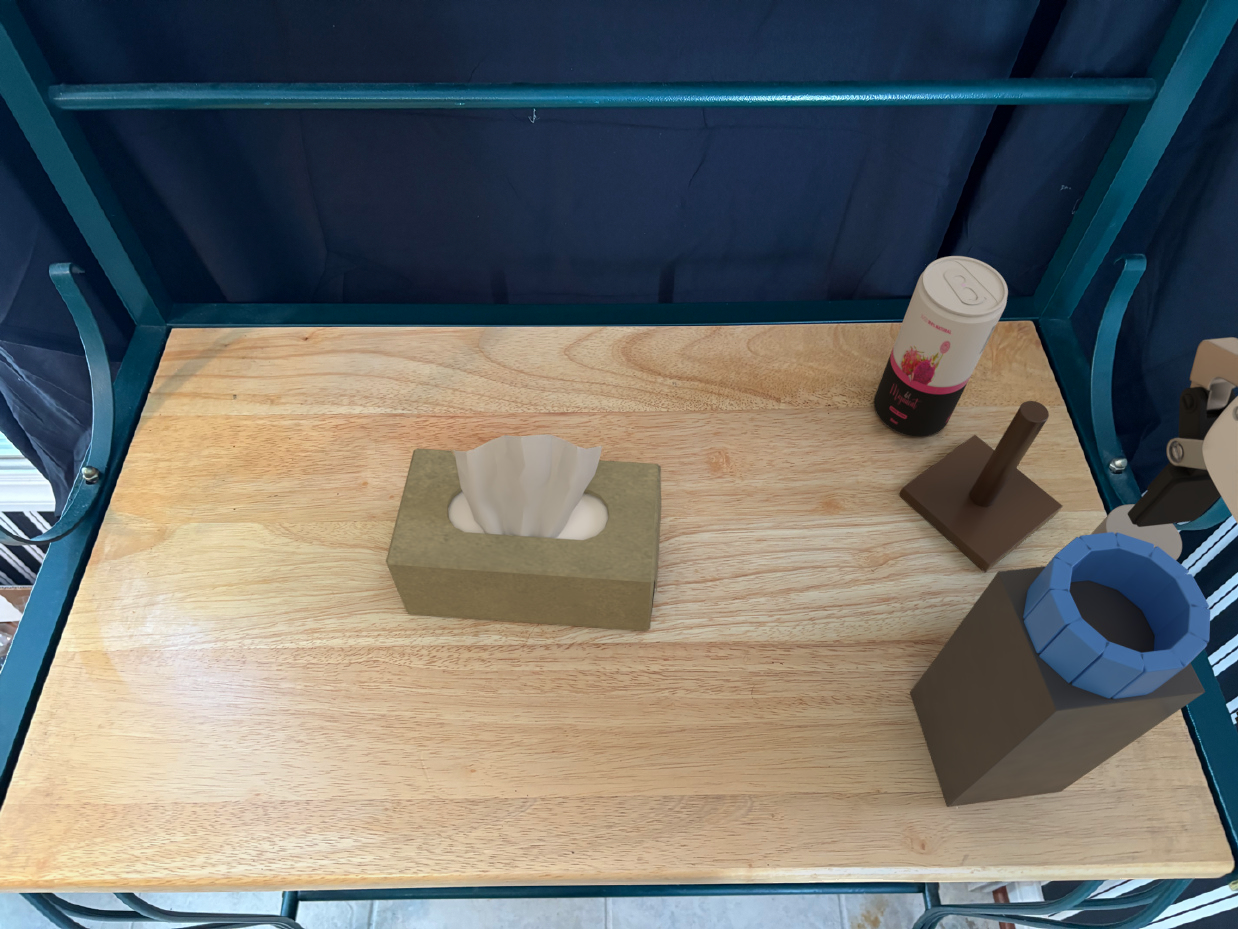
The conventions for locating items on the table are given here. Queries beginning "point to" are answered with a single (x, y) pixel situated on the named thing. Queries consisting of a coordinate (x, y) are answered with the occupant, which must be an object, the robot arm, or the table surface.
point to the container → (1142, 531)
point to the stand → (986, 492)
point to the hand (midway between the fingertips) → (1211, 612)
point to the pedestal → (1031, 698)
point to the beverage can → (939, 344)
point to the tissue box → (528, 535)
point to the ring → (1145, 583)
